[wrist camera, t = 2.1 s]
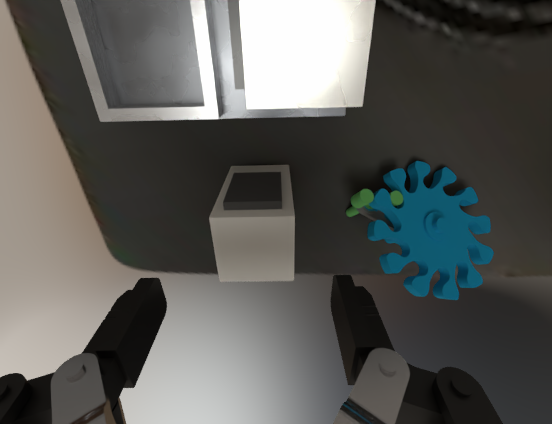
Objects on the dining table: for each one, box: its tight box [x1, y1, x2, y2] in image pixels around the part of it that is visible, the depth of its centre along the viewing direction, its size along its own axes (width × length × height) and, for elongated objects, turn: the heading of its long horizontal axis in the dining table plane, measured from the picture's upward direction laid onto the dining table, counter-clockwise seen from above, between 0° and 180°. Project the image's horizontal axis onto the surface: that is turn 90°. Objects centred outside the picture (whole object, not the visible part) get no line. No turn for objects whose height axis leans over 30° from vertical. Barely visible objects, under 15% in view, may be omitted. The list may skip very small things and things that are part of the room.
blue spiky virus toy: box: [346, 161, 494, 300], centre depth 21 cm, size 11×6×10 cm
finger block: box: [209, 165, 295, 282], centre depth 19 cm, size 4×5×8 cm
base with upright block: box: [61, 0, 376, 122], centre depth 13 cm, size 16×8×9 cm, turn 91°
